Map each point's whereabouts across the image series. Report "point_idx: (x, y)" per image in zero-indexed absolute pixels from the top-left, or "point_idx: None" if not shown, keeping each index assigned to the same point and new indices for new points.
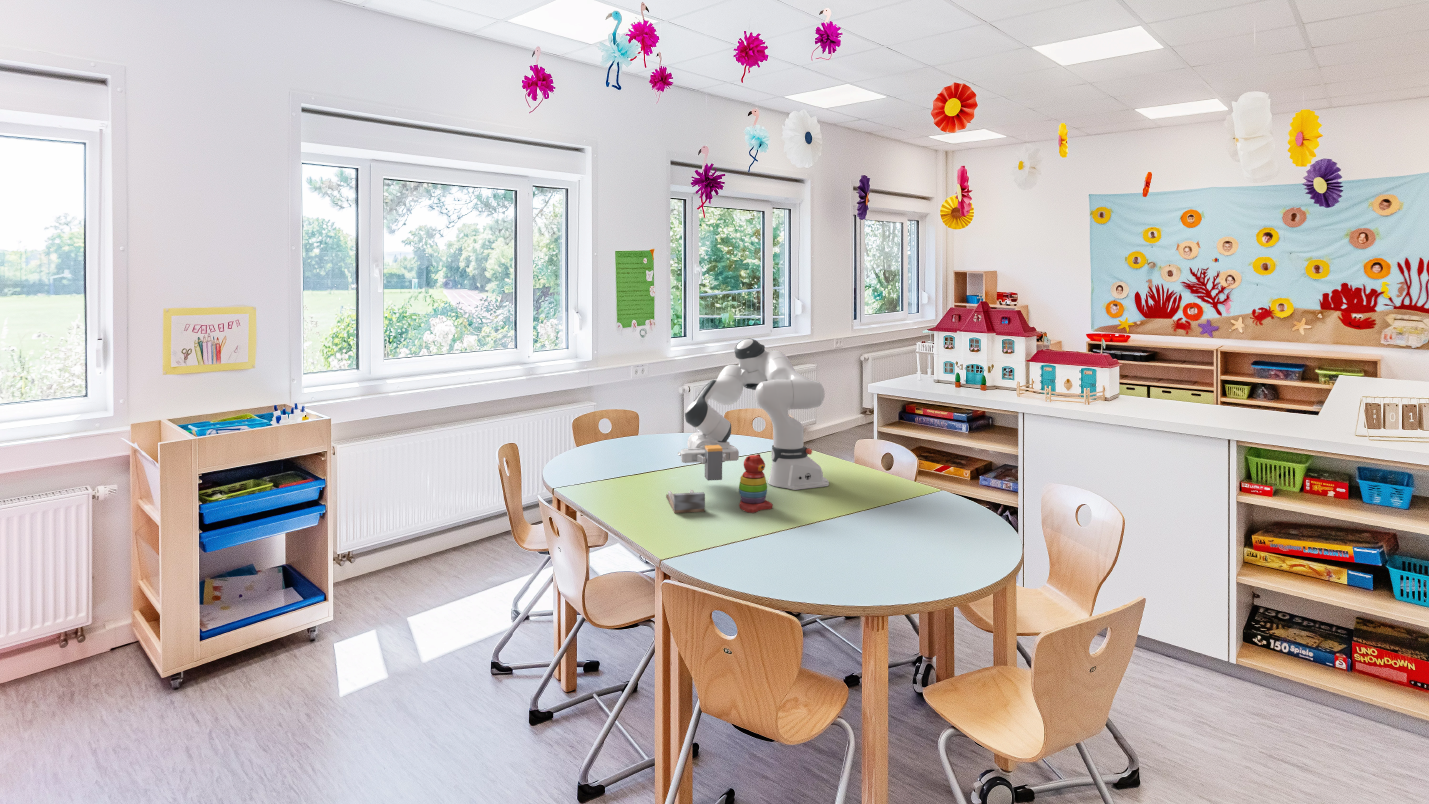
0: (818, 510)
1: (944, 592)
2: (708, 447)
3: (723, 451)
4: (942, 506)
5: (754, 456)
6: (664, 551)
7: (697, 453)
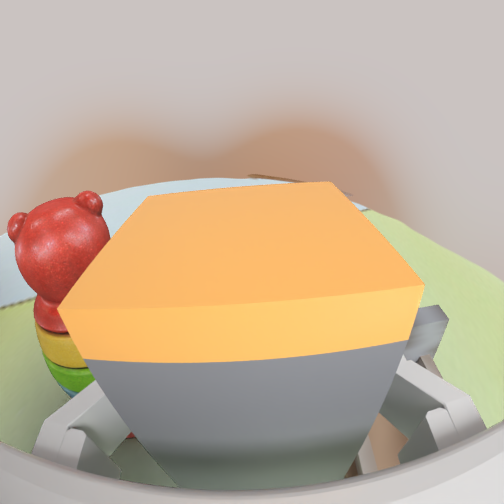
0: (17, 332)
1: (125, 189)
2: (326, 204)
3: (26, 459)
4: None
5: (58, 198)
6: (377, 219)
7: (490, 428)
